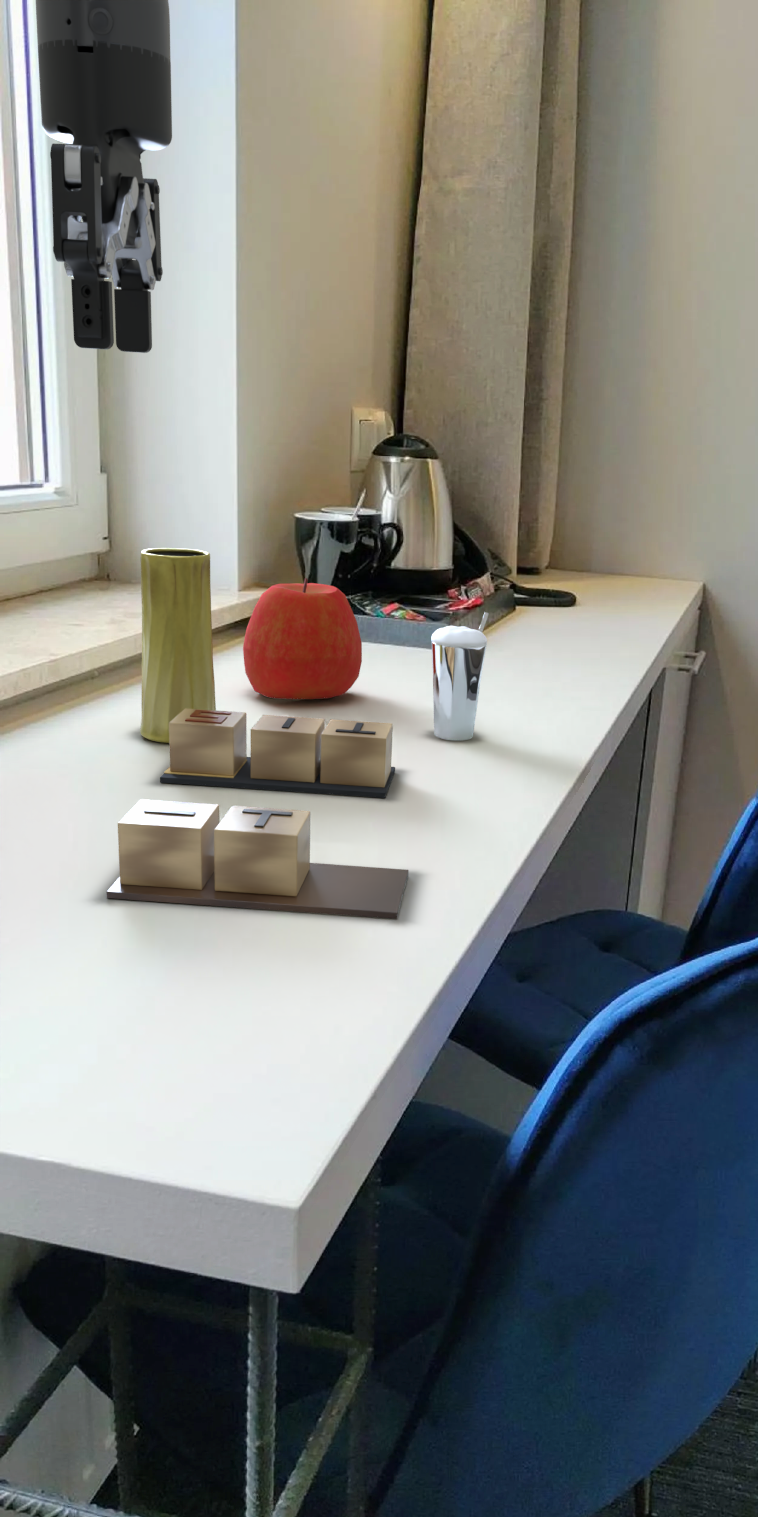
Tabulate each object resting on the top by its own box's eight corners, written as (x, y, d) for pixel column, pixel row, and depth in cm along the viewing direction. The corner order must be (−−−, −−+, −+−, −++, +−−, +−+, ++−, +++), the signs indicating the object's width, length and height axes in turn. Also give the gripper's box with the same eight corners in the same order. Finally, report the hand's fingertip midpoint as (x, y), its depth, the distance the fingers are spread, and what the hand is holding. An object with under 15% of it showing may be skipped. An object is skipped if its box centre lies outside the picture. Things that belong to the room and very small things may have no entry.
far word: (159, 782, 94) (158, 725, 92) (184, 757, 100) (183, 703, 99) (385, 798, 93) (387, 741, 92) (395, 772, 100) (397, 718, 98)
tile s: (169, 771, 95) (168, 721, 94) (185, 755, 99) (184, 706, 98) (233, 776, 95) (233, 725, 93) (246, 759, 99) (246, 710, 98)
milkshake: (498, 737, 112) (507, 617, 108) (453, 745, 108) (460, 622, 105) (460, 725, 115) (467, 608, 111) (415, 734, 111) (420, 613, 107)
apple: (301, 715, 115) (302, 590, 111) (216, 693, 121) (215, 574, 117) (384, 698, 123) (388, 581, 119) (300, 678, 129) (302, 566, 125)
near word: (106, 898, 73) (103, 827, 71) (141, 856, 79) (139, 790, 78) (397, 919, 72) (400, 848, 71) (408, 875, 79) (411, 809, 77)
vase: (141, 725, 109) (135, 546, 104) (217, 726, 110) (215, 548, 105) (138, 744, 103) (132, 555, 98) (219, 745, 104) (217, 558, 99)
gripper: (80, 74, 84) (91, 351, 90) (-5, 14, 71) (14, 343, 77) (197, 80, 84) (201, 357, 90) (134, 21, 71) (143, 351, 77)
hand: (115, 350), depth 83 cm, fingers open, 8 cm apart
